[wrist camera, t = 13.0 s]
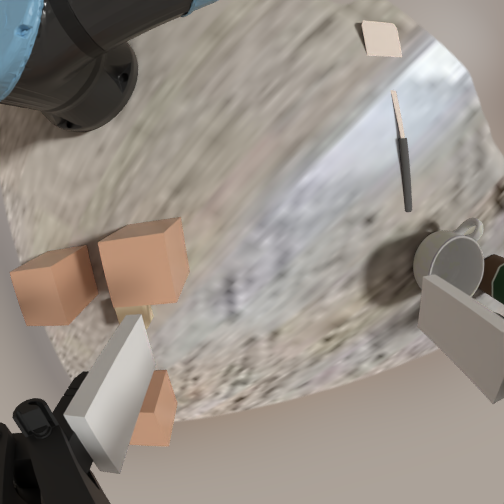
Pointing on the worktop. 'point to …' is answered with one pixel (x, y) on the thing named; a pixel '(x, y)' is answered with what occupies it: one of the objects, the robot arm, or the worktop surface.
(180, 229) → the smooth terracotta cube
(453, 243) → the teacup
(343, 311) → the worktop surface
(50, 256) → the peach colored cube
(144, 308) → the beige cube
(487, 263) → the beer bottle
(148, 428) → the tan peach cube
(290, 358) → the worktop surface
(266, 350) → the worktop surface
